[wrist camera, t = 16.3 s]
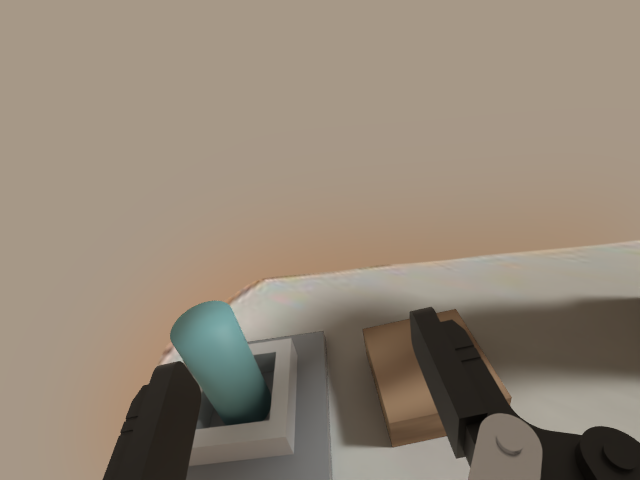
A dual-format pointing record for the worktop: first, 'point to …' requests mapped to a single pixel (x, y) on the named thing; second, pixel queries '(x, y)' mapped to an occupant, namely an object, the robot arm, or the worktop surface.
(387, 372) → the stand
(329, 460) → the socket base
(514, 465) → the robot arm
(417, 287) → the worktop surface
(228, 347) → the peg
